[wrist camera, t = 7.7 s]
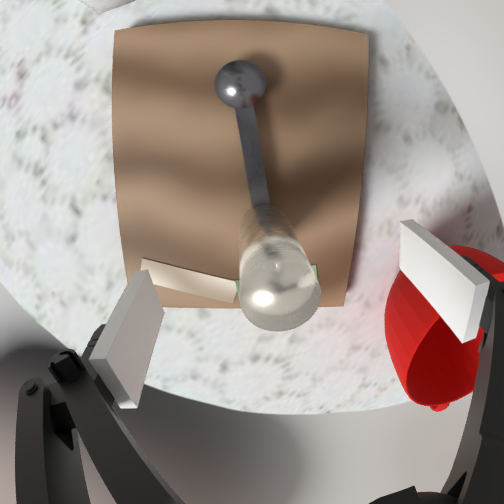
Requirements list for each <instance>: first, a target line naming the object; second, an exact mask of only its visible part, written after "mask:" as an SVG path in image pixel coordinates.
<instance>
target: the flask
mask: <svg viewBox="0 0 504 504" xmlns="http://www.w3.org/2000/svg"><path fill="white" fill-rule="evenodd" d="M79 1H81V2H82V3H84V4H85V5H87V6H88V7H90V8H91V9H93V10H94V11H96V12H97V13H99V14H100V13H102V12H105V11H107V10H110V9H113V8H115V7H118V6H121V5H124V4H127V3H130V2H133V1H134V0H79Z"/></svg>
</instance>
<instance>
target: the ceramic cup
mask: <svg viewBox="0 0 504 504" xmlns="http://www.w3.org/2000/svg"><path fill="white" fill-rule="evenodd" d="M448 247H450V248H451V249H452V250H453V251H455V252H456V253H457V254H458V255H464V256H467V257H469V258H471V259H473V260H474V261H475V262H476V263H478V265H480V266H481V267H482V268H483V269H485V270H486V271H487V272H488V273H490V274H491V275H492V276H493V277H494V278H496V279H497V280H498V281H499V282H502V281H504V262H502V261H500V260H498V259H497V258H495V257H493V256H491V255H489V254H487V253H485V252H483V251H480V250H477V249H474V248H469V247H463V246H448ZM483 334H484V331H483V330H482V328H481V327H480V326H479V329H478V332H477V336H476V338H474V339H472V340H469V341H467V342H464V343H462V342H461V341H460V340H459V339H458V337H457V336H456V335H455V333H454V332H453V331H452V330H451V328H450V327H449V326H448V325H447V323H446V322H445V321H444V320H443V318H442V317H441V316H440V315H439V314H438V312H437V311H436V310H435V309H434V308H433V306H432V305H431V304H430V303H429V302H428V300H427V299H426V298H425V297H424V296H423V294H422V293H421V292H420V291H419V290H418V289H417V288H416V286H415V285H414V284H413V283H412V282H411V281H410V280H409V278H408V277H407V276H406V275H405V274H404V273H403V272H402V271H400V272H399V274H398V276H397V277H396V279H395V281H394V283H393V285H392V287H391V290H390V293H389V296H388V299H387V303H386V309H385V336H386V341H387V345H388V349H389V352H390V356H391V359H392V362H393V365H394V367H395V370H396V372H397V375H398V377H399V379H400V382H401V384H402V386H403V388H404V390H405V392H406V393H407V395H408V396H409V398H410V399H411V400H413V401H414V402H416V403H417V404H420V405H424V406H430V408H431V409H432V410H433V411H436V412H439V411H442V410H444V409H446V408H447V407H448V406H449V404H450V402H453V401H455V400H458V399H460V398H462V397H464V396H466V395H468V394H469V393H471V392H472V391H474V386H475V381H476V375H477V370H478V364H479V357H480V352H478V349H479V346H480V343H481V340H482V337H483Z"/></svg>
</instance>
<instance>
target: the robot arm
mask: <svg viewBox="0 0 504 504" xmlns="http://www.w3.org/2000/svg"><path fill="white" fill-rule="evenodd" d="M399 268H400V269H401V271H402V272H403V273H404V274H405V275H406V276H407V277H408V278H409V280H410V281H411V282H412V283H413V284H414V285H415V286H416V288H417V289H418V290H419V291H420V292H421V293H422V294H423V296H424V297H425V298H426V299H427V300H428V302H429V303H430V304H431V305H432V306H433V308H434V309H435V310H436V311H437V312H438V314H439V315H440V316H441V317H442V318H443V320H444V321H445V322H446V323H447V325H448V326H449V327H450V328H451V330H452V331H453V332H454V333H455V335H456V336H457V337H458V339H459V340H460V341H461V342H462V343H464V342H467V341H469V340H472V339H474V338H476V336H477V332H478V329H479V326H480V327H481V328H482V330H483V331H484V334H483V337H482V340H481V343H480V346H479V349H478V352H480V357H479V364H478V370H477V375H476V381H475V386H474V391H473V396H472V400H471V405H470V409H469V413H468V417H467V421H466V425H465V429H464V432H463V436H462V439H461V443H460V446H459V449H458V452H457V455H456V458H455V461H454V464H453V467H452V470H451V473H450V475H449V477H448V479H447V481H446V483H445V485H444V487H443V489H442V491H441V493H437V492H417V491H416V489H415V486H412V487H409V488H407V489H404V490H401V491H398V492H395V493H392V494H389V495H386V496H383V497H380V498H378V499H376V500H375V501H373V502H371V503H369V504H504V281H502V282H499V281H498V280H497V279H496V278H494V277H493V276H492V275H491V274H490V273H488V272H487V271H486V270H485V269H483V268H482V267H481V266H480V265H478V263H476V262H475V261H474V260H473V259H471V258H469V257H467V256H464V255H458V254H457V253H456V252H455V251H453V250H452V249H451V248H450V247H448V246H447V245H446V244H445V243H443V242H442V241H441V240H439V239H438V238H437V237H435V236H434V235H433V234H432V233H430V232H429V231H428V230H426V229H425V228H424V227H422V226H421V225H419V224H418V223H417V222H415V221H414V220H413V219H411V220H406V221H400V264H399ZM163 316H164V311H163V308H162V306H161V303H160V300H159V298H158V295H157V293H156V290H155V287H154V285H153V282H152V279H151V276H150V274H149V271H148V269H147V270H141V271H136V272H134V274H133V276H132V277H131V279H130V281H129V283H128V285H127V286H126V288H125V290H124V292H123V294H122V295H121V297H120V299H119V301H118V303H117V305H116V307H115V308H114V310H113V312H112V314H111V316H110V318H109V320H108V322H107V324H102V325H101V326H100V327H99V328H98V329H97V330H96V331H95V332H94V333H93V335H92V337H91V339H90V340H91V341H89V343H88V345H87V347H86V349H85V351H84V353H83V355H82V357H81V358H79V357H78V355H77V353H76V352H75V351H74V350H72V349H65V350H62V351H60V352H58V353H57V354H55V355H54V356H53V357H52V358H51V359H50V361H49V363H48V369H49V371H50V372H51V374H52V375H53V376H54V378H55V379H56V381H57V383H53V384H50V385H46V384H45V383H44V381H43V380H42V379H41V378H37V377H36V378H32V379H30V380H28V381H26V382H25V383H24V384H23V386H22V387H21V389H20V392H19V400H18V410H17V423H16V442H15V444H16V445H15V481H16V500H17V504H90V500H89V495H88V491H87V486H86V481H85V476H84V471H83V466H82V460H81V455H80V448H79V442H78V435H77V430H78V432H79V434H80V436H81V438H82V441H83V443H84V445H85V447H86V449H87V451H88V453H89V455H90V457H91V459H92V461H93V463H94V465H95V467H96V468H97V470H98V472H99V474H100V476H101V478H102V479H103V481H104V483H105V485H106V486H107V488H108V490H109V492H110V493H111V495H112V497H113V498H114V499H115V501H116V503H117V504H185V503H184V502H183V501H182V500H181V498H180V497H179V496H178V495H177V494H176V493H175V492H174V490H173V489H172V488H171V487H170V486H169V484H168V483H167V482H166V481H165V479H164V478H163V477H162V476H161V474H160V473H159V472H158V471H157V470H156V468H155V467H154V466H153V464H152V463H151V462H150V460H149V459H148V458H147V457H146V455H145V454H144V452H143V451H142V450H141V448H140V447H139V446H138V444H137V443H136V441H135V440H134V438H133V437H132V436H131V434H130V433H129V431H128V430H127V428H126V427H125V426H124V424H123V422H122V421H121V419H120V418H119V417H118V415H117V413H116V412H115V410H114V409H113V408H112V405H113V402H114V399H115V401H116V402H117V404H118V405H119V406H120V408H137V407H138V403H139V399H140V396H141V392H142V388H143V384H144V381H145V377H146V374H147V370H148V367H149V363H150V360H151V356H152V353H153V349H154V346H155V342H156V339H157V336H158V332H159V329H160V326H161V323H162V319H163Z"/></svg>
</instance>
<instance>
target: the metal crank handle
mask: <svg viewBox="0 0 504 504" xmlns="http://www.w3.org/2000/svg"><path fill="white" fill-rule="evenodd" d="M214 87H215V92H216V94H217V96H218V97H219V99H220V100H221V101H222V102H223V103H224V104H226V105H227V106H229V107H232V108H235V113H236V118H237V124H238V129H239V135H240V140H241V146H242V152H243V157H244V163H245V169H246V174H247V180H248V186H249V191H250V197H251V203H252V208H251V209H250V210H248V211H247V212H246V213H245V214H244V216H243V217H242V219H241V221H240V224H239V270H240V304H241V308H242V311H243V313H244V315H245V316H246V318H247V319H248V320H249V321H250V322H251V323H253V324H254V325H256V326H257V327H259V328H262V329H265V330H269V331H286V330H291V329H293V328H296V327H298V326H300V325H302V324H304V323H305V322H306V321H308V320H309V319H310V318H311V317H312V316H313V314H314V313H315V312H316V310H317V308H318V306H319V303H320V299H321V288H320V285H319V282H318V280H317V278H316V275H315V273H314V271H313V269H312V267H311V265H310V262H309V260H308V258H307V256H306V254H305V252H304V250H303V248H302V246H301V243H300V241H299V239H298V237H297V235H296V233H295V231H294V229H293V227H292V225H291V223H290V221H289V219H288V217H287V215H286V214H285V213H284V212H283V211H282V210H281V209H279V208H278V207H275V206H272V205H270V202H269V196H268V189H267V183H266V177H265V171H264V165H263V158H262V152H261V146H260V140H259V135H258V129H257V123H256V117H255V111H254V106H253V105H254V104H255V103H257V102H258V101H259V100H260V99H261V97H262V96H263V94H264V92H265V88H266V80H265V76H264V74H263V72H262V71H261V69H260V68H259V67H258V66H256V65H255V64H253V63H251V62H249V61H244V60H237V61H232V62H229V63H227V64H226V65H224V66H223V67H222V68H221V69H220V70H219V71H218V73H217V75H216V77H215V82H214Z"/></svg>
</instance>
